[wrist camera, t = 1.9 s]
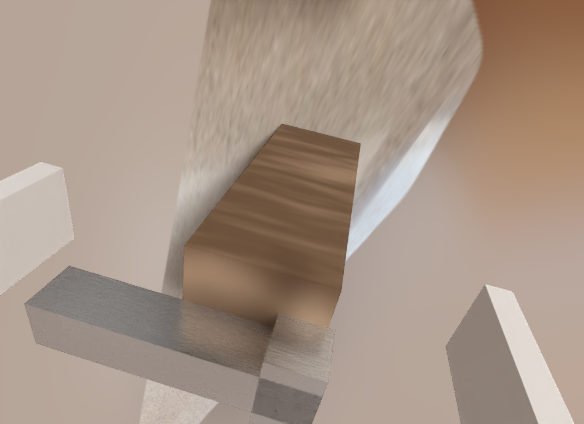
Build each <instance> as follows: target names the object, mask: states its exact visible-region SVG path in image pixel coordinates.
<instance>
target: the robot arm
mask: <svg viewBox="0 0 584 424" xmlns="http://www.w3.org/2000/svg"><path fill="white" fill-rule="evenodd" d="M73 239H74V232H73V226H72V220H71V215H70V208H69V202H68V196H67V190H66V184H65V178H64V173H63V168H60V167H57V166H53V165H50V164H46V163H42V162H40V163H38V164H35V165H33V166H31V167H29V168H27V169H25V170H23V171H20V172H18V173H16V174H14V175H12V176H10V177H7V178H5V179H3V180H1V181H0V295H1V294H3V293H4V292H5V291H7V290H8V289H9V288H10V287H12V286H13V285H14V284H16V283H17V282H18V281H20V280H21V279H22V278H24V277H25V276H26V275H27V274H29V273H30V272H31V271H33V270H34V269H35V268H37V267H38V266H39V265H40V264H42V263H43V262H44V261H46V260H47V259H48V258H49V257H51V256H52V255H53V254H55V253H56V252H57V251H59V250H60V249H61V248H63V247H64V246H65V245H66V244H68V243H69V242H70V241H72V240H73ZM446 350H447V355H448V360H449V365H450V371H451V376H452V381H453V385H454V390H455V396H456V401H457V405H458V411H459V416H460V421H461V424H574V422H573V420H572V418H571V416H570V414H569V411H568V409H567V407H566V405H565V403H564V401H563V399H562V396H561V394H560V392H559V390H558V388H557V386H556V384H555V382H554V379H553V377H552V375H551V373H550V371H549V369H548V367H547V364H546V362H545V360H544V358H543V356H542V354H541V352H540V350H539V347H538V346H537V343H536V341H535V339H534V337H533V335H532V332H531V330H530V328H529V326H528V324H527V322H526V319H525V317H524V315H523V313H522V311H521V309H520V307H519V305H518V302H517V300H516V298H515V296H514V294H513V292H512V291H507V290H504V289H501V288H497V287H494V286H490V285H486V284H485V285H484V287H483V289H482V290H481V292H480V293H479V295H478V296H477V298H476V299H475V301H474V303H473V304H472V306H471V307H470V309H469V310H468V312H467V314H466V315H465V317H464V318H463V320H462V321H461V323H460V325H459V326H458V328H457V329H456V331H455V333H454V334H453V336H452V337H451V339H450V341H449V342H448V344H447V345H446Z"/></svg>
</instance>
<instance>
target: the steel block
mask: <svg viewBox="0 0 584 424" xmlns="http://www.w3.org/2000/svg"><path fill="white" fill-rule="evenodd" d="M25 308H26V311H27V314H28V317H29V321H30V324H31V328H32V331H33V334H34V338H35V341H36V343H37V344H40V345H43V346H47V347H50V348H52V349H56V350H59V351H62V352H65V353H68V354H71V355H74V356H78V357H80V358H84V359H87V360H90V361H93V362H96V363H99V364H102V365H105V366H109V367H112V368H115V369H118V370H121V371H124V372H127V373H130V374H133V375H137V376H140V377H143V378H146V379H149V380H152V381H155V382H158V383H161V384H164V385H168V386H171V387H174V388H177V389H180V390H183V391H186V392H189V393H193V394H196V395H199V396H202V397H205V398H208V399H211V400H214V401H217V402H221V403H224V404H227V405H230V406H233V407H236V408H239V409H242V410H246V411H249V412H251V417H250V421H249V424H312V422H313V419H314V417H315V414H316V412H317V409H318V407H319V404H320V402H321V400H322V397H323V395H324V392H325V390H326V387H327V385H328V381H329V374H330V366H331V358H332V351H333V343H334V336H335V330H334V329H331V328H327V327H324V326H321V325H317V324H314V323H310V322H307V321H304V320H300V319H297V318H294V317H290V316H287V315H283V314H280V313H279V314H278V317H277V320H276V323H275V326H274V327H272V326H268V325H265V324H262V323H258V322H255V321H252V320H248V319H245V318H242V317H238V316H235V315H232V314H228V313H225V312H222V311H218V310H215V309H211V308H208V307H205V306H201V305H198V304H195V303H191V302H188V301H185V300H181V299H178V298H175V297H171V296H168V295H165V294H161V293H158V292H154V291H151V290H148V289H145V288H141V287H138V286H135V285H131V284H128V283H124V282H121V281H118V280H114V279H111V278H108V277H104V276H101V275H98V274H95V273H91V272H88V271H85V270H81V269H78V268H74V267H71V266H68V267H67V268H66V269H65V270H64V271H63V272H62V273H60V274H59V275H58V276H57V277H55V278H54V279H53V280H52V281H51V282H50V283H48V284H47V285H46V286H45V287H44V288H42V289H41V290H40V291H39V292H38V293H37V294H36V295H34V296H33V297H32V298H31V299H30V300H28V301H27V302H26V303H25Z"/></svg>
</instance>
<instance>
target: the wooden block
mask: <svg viewBox="0 0 584 424" xmlns="http://www.w3.org/2000/svg"><path fill="white" fill-rule="evenodd" d="M359 152H360V143H356V142H352V141H348V140H344V139H340V138H336V137H332V136H328V135H325V134H321V133H317V132H313V131H309V130H305V129H301V128H297V127H293V126H289V125H285V124H282V125H281V126H280V127H279V128H278V130H277V131H276V132H275V133H274V135H273V136H272V137H271V138H270V140H269V141H268V142H267V143H266V145H265V146H264V147H263V148H262V150H261V151H260V152H259V153H258V155H257V156H256V157H255V158H254V160H253V161H252V162H251V163H250V165H249V166H248V167H247V168H246V170H245V171H244V172H243V173H242V175H241V176H240V177H239V178H238V179H237V181H236V182H235V183H234V184H233V186H232V187H231V188H230V189H229V191H228V192H227V193H226V194H225V196H224V197H223V198H222V199H221V201H220V202H219V203H218V204H217V206H216V207H215V208H214V209H213V211H212V212H211V213H210V214H209V216H208V217H207V218H206V219H205V221H204V222H203V223H202V224H201V226H200V227H199V228H198V229H197V231H196V232H195V233H194V234H193V236H192V237H191V238H190V239H189V241H188V242H187V243H186V244H185V246H184V271H183V300H185V301H188V302H191V303H195V304H198V305H201V306H205V307H208V308H211V309H215V310H218V311H222V312H225V313H228V314H232V315H235V316H238V317H242V318H245V319H248V320H252V321H255V322H258V323H262V324H265V325H268V326H272V327H274V326H275V323H276V320H277V317H278V314H279V313H280V314H283V315H287V316H290V317H294V318H297V319H300V320H304V321H307V322H310V323H314V324H317V325H321V326H324V327H327V328H328V327H329V324H330V321H331V318H332V316H333V313H334V310H335V307H336V304H337V301H338V299H339V296H340V293H341V289H342V281H343V274H344V266H345V259H346V251H347V243H348V236H349V228H350V220H351V213H352V205H353V197H354V190H355V182H356V175H357V167H358V159H359Z"/></svg>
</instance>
